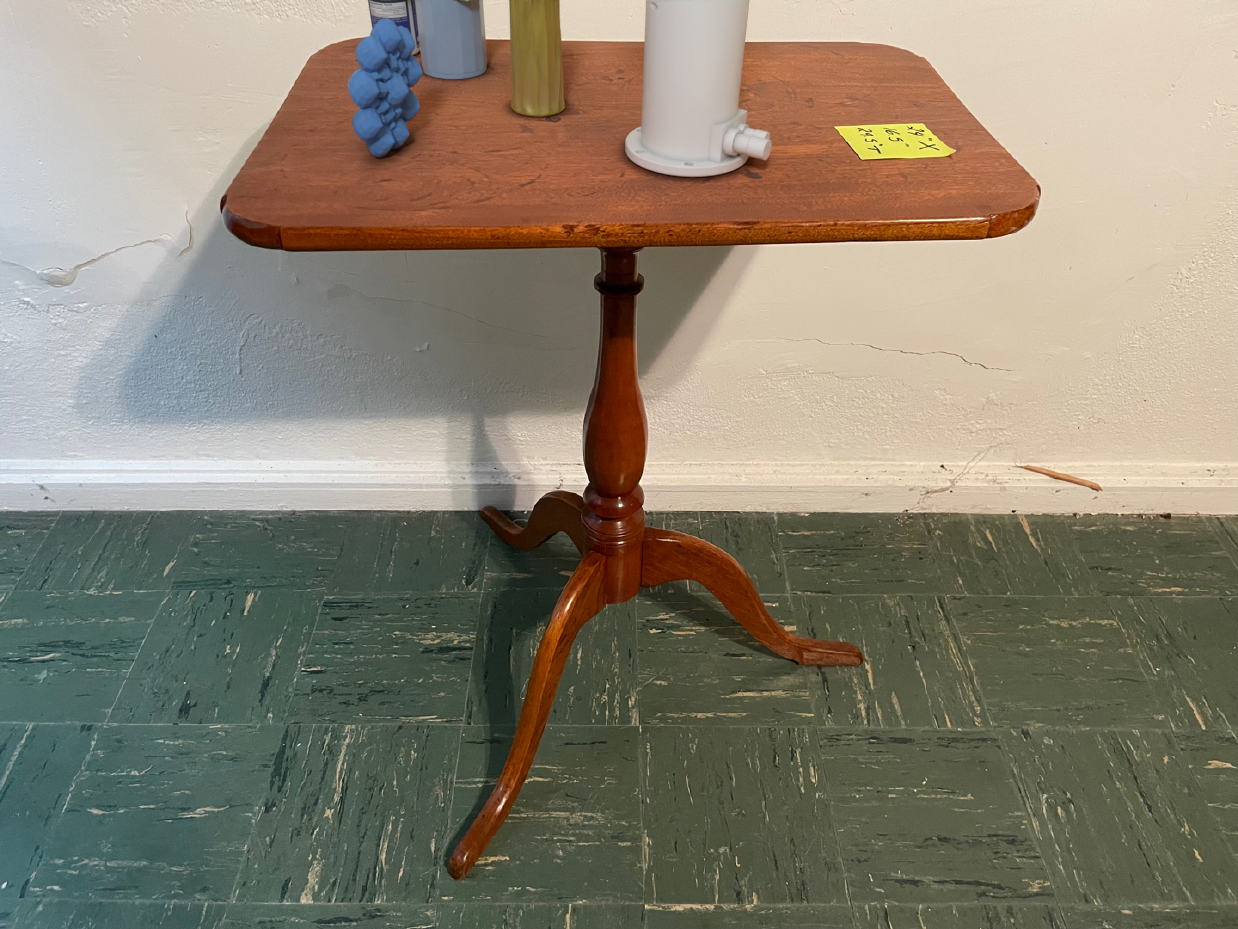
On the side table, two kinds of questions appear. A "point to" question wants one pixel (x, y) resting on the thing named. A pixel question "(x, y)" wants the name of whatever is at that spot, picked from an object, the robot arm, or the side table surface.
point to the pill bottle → (396, 15)
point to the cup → (452, 38)
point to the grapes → (385, 87)
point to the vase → (536, 58)
